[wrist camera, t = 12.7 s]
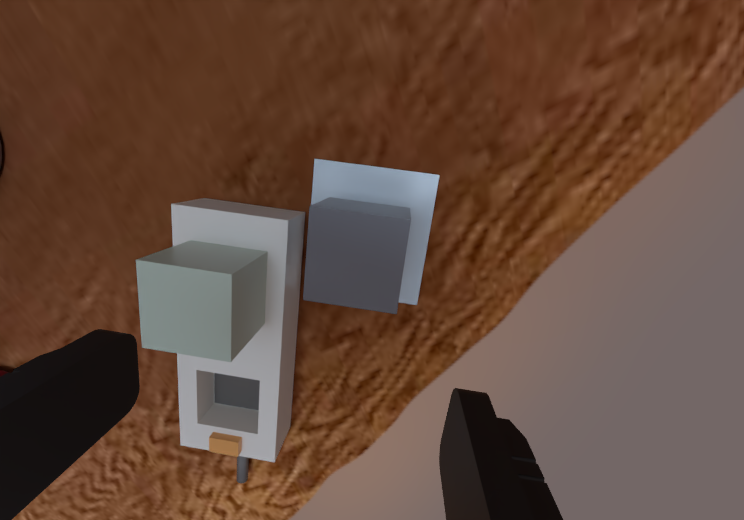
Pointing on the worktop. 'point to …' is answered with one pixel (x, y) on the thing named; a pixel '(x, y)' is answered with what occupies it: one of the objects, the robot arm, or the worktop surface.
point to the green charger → (201, 299)
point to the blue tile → (387, 190)
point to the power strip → (262, 353)
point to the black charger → (356, 254)
